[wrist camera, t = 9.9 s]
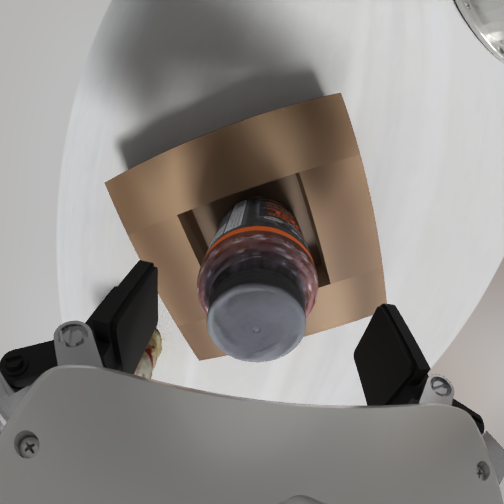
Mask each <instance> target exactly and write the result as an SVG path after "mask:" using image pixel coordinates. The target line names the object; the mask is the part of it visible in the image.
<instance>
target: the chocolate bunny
mask: <svg viewBox="0 0 504 504" xmlns="http://www.w3.org/2000/svg"><path fill="white" fill-rule="evenodd" d="M161 343H162V339H161V336H160V334H159V332H158V331H157V330H156V329H155V330H154V333H153V335H152V337H151V339H150V341H149V343H148V345H147V347H146V349H145V351H144V353H143V356H142V358H141V360H140V362H139V364H138V366H137V368H136V371H135V373H134V375H138V376H141V377H145V378H149V379H151V376H152V371H153V369H154V367H155V365H156V361H157V358H158V357H159V355H160V353H161V350H162V347H161V346H162V345H161Z"/></svg>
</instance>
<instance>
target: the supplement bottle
mask: <svg viewBox="0 0 504 504" xmlns="http://www.w3.org/2000/svg"><path fill="white" fill-rule="evenodd" d="M197 294H198V298H199V302H200V305H201V307H202V309H203V311H204V312H205V314H206V315H207V320H206V323H207V330H208V333H209V335H210V337H211V340H212V341H213V342H214V344H215V345H216V346H217V347H218V348H219V349H220V350H221V351H223V352H224V353H225V354H227V355H229V356H232V357H234V358H235V359H239V360H242V361H249V362H264V361H270V360H275V359H278V358H280V357H282V356H285V355H286V354H288V353H289V352H291V351H292V350H293V349H294V348H295V347H296V346H297V345H298V344H299V343H300V341H301V339H302V338H303V336H304V334H305V330H306V318H307V317H308V316H309V315H310V313H311V311H312V310H313V307H314V305H315V303H316V299H317V296H318V277H317V271H316V268H315V265H314V262H313V259H312V257H311V254H310V252H309V249H308V246H307V244H306V241H305V239H304V236H303V234H302V231H301V229H300V226H299V224H298V221H297V219H296V217H295V216H294V215H293V213H292V212H291V210H290V209H289V208H288V207H287V206H286V205H284V204H283V203H281V202H280V201H278V200H276V199H273V198H270V197H265V196H252V197H248V198H245V199H243V200H240V201H239V202H237V203H235V204H234V205H233V206H232V207H230V208H229V210H228V211H227V212H226V214H225V215H224V216H223V219H222V220H221V222H220V224H219V226H218V229H217V231H216V233H215V235H214V238H213V240H212V242H211V244H210V246H209V249H208V251H207V253H206V255H205V257H204V260H203V262H202V265H201V267H200V270H199V274H198V278H197Z"/></svg>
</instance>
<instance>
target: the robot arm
mask: <svg viewBox="0 0 504 504" xmlns="http://www.w3.org/2000/svg"><path fill="white" fill-rule="evenodd" d="M455 1H456V4H457V6H458V8H459V10H460V11H461V13H462V15H463V17H464V18H465V20H466V21H467V23H468V24H469V26H470V27H471V29H472V30H473V32H474V33H475V34H476V36H477V37H478V38H479V40H480V41H481V42H482V43H483V44H484V45H485V46H486V48H487V49H488V50H489V51H490V52H491V53H492V54H493V55H494V56H496V57H497V58H498V59H499V60H501V61H502V62H504V0H455ZM157 323H158V268H157V267H154V263H152V262H147V261H143V260H140V261H139V262H138V263H137V264H136V265H135V266H134V267H133V269H132V270H131V271H130V272H129V273H128V275H127V276H126V277H125V278H124V279H123V281H122V282H121V283H120V284H119V286H118V287H117V286H116V287H114V288H113V289H112V290H111V291H110V292H109V294H108V295H107V296H106V297H105V299H104V300H103V301H102V302H101V304H100V305H99V306H98V307H97V309H96V310H95V311H94V312H93V314H92V315H91V316H90V318H89V319H88V320H87V322H86V323H83V322H80V321H69V322H66V323H63V324H62V325H60V326H59V327H58V328H57V329H56V331H55V333H54V340H52V341H48V342H44V343H40V344H36V345H32V346H28V347H24V348H20V349H15V350H12V351H9V352H8V353H6V354H5V355H4V356H3V358H2V359H1V362H0V504H503V500H502V495H501V491H500V487H499V484H500V482H501V481H502V479H503V477H504V449H503V448H502V447H501V446H500V444H499V443H498V442H497V441H496V440H495V439H494V438H493V437H492V436H491V435H490V434H489V433H488V432H487V431H486V432H485V433H484V423H483V420H482V418H481V416H480V415H478V414H476V413H475V412H474V411H472V410H470V409H469V408H467V407H466V406H464V405H463V404H461V403H459V402H458V401H456V400H455V399H453V396H454V388H453V386H452V384H451V382H450V381H449V380H448V379H447V378H445V377H444V376H442V375H440V374H432V375H430V376H428V374H427V373H428V372H429V370H430V367H429V365H428V363H427V361H426V359H425V357H424V355H423V354H422V352H421V350H420V348H419V346H418V344H417V343H416V341H415V339H414V337H413V335H412V334H411V332H410V330H409V328H408V327H407V325H406V323H405V321H404V320H403V318H402V316H401V314H400V313H399V311H398V309H397V308H396V306H395V305H391V304H384V303H383V304H382V305H380V306H378V307H377V308H376V310H375V312H374V314H373V316H372V319H371V321H370V323H369V325H368V326H367V328H366V330H365V332H364V334H363V336H362V338H361V340H360V342H359V344H358V346H357V347H356V349H355V351H354V360H355V363H356V367H357V370H358V373H359V377H360V380H361V384H362V387H363V391H364V394H365V398H366V402H367V405H368V406H335V405H311V404H296V403H284V402H274V401H265V400H257V399H249V398H242V397H235V396H229V395H223V394H217V393H212V392H206V391H201V390H196V389H192V388H187V387H182V386H178V385H174V384H169V383H165V382H161V381H157V380H153V379H149V378H145V377H141V376H138V375H134V373H135V371H136V368H137V366H138V364H139V362H140V360H141V358H142V356H143V353H144V351H145V349H146V347H147V345H148V343H149V341H150V339H151V337H152V335H153V333H154V330H155V328H156V326H157Z"/></svg>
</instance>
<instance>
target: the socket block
mask: <svg viewBox="0 0 504 504" xmlns="http://www.w3.org/2000/svg"><path fill="white" fill-rule="evenodd" d="M105 185H106V187H107V190H108V192H109V194H110V197H111V199H112V201H113V204H114V206H115V208H116V210H117V213H118V215H119V217H120V219H121V221H122V223H123V226H124V228H125V230H126V232H127V234H128V236H129V238H130V240H131V242H132V244H133V246H134V248H135V250H136V252H137V254H138V256H139V258H140V260H143V261H147V262H152V263H154V267H157V268H158V294H159V296H160V297H161V299H162V301H163V303H164V304H165V306H166V308H167V309H168V311H169V313H170V315H171V316H172V318H173V320H174V321H175V323H176V325H177V326H178V328H179V330H180V331H181V333H182V334H183V336H184V338H185V339H186V341H187V342H188V344H189V346H190V347H191V349H192V350H193V352H194V353H195V355H196V356H197V358H198V359H199V361H200V360H205V359H210V358H216V357H221V356H226V355H227V354H225V353H224V352H223V351H221V350H220V349H219V348H218V347H217V346H216V345H215V344H214V342H213V341H212V340H211V337H210V335H209V333H208V330H207V323H206V320H207V315H206V314H205V312H204V311H203V309H202V307H201V305H200V302H199V298H198V294H197V278H198V274H199V270H200V267H201V265H202V262H203V260H204V257H205V255H206V253H207V251H208V249H209V246H210V244H211V242H212V240H213V238H214V235H215V233H216V231H217V229H218V226H219V224H220V222H221V220H222V219H223V216H224V215H225V214H226V212H227V211H228V210H229V208H230V207H232V206H233V205H234V204H235V203H237V202H239V201H240V200H243V199H245V198H248V197H252V196H265V197H270V198H273V199H276V200H278V201H280V202H281V203H283V204H284V205H286V206H287V207H288V208H289V209H290V210H291V212H292V213H293V215H294V216H295V217H296V219H297V221H298V224H299V226H300V229H301V231H302V234H303V236H304V239H305V241H306V244H307V246H308V249H309V252H310V254H311V257H312V259H313V262H314V265H315V268H316V271H317V277H318V296H317V299H316V303H315V305H314V307H313V310H312V311H311V313H310V315H309V316H308V317H307V318H306V330H305V334H304V336H308V335H311V334H315V333H318V332H321V331H325V330H328V329H331V328H335V327H338V326H341V325H344V324H347V323H350V322H353V321H356V320H359V319H362V318H365V317H368V316H371V315H373V314H374V312H375V310H376V308H377V307H378V306H380V305H382V304H383V303H384V304H387V302H386V291H385V282H384V273H383V266H382V258H381V252H380V245H379V239H378V233H377V227H376V222H375V216H374V211H373V206H372V202H371V197H370V192H369V188H368V184H367V179H366V175H365V171H364V167H363V163H362V159H361V156H360V152H359V148H358V145H357V141H356V138H355V135H354V131H353V128H352V125H351V121H350V118H349V115H348V112H347V109H346V106H345V103H344V100H343V98H342V95H341V93H337V94H333V95H328V96H324V97H320V98H316V99H312V100H308V101H304V102H301V103H297V104H293V105H290V106H286V107H283V108H279V109H276V110H273V111H270V112H266V113H263V114H260V115H257V116H254V117H251V118H248V119H245V120H243V121H240V122H237V123H234V124H231V125H229V126H226V127H223V128H221V129H218V130H215V131H213V132H210V133H208V134H205V135H203V136H200V137H198V138H195V139H193V140H191V141H188V142H186V143H184V144H181V145H179V146H177V147H175V148H172V149H170V150H168V151H166V152H164V153H162V154H159V155H157V156H155V157H153V158H151V159H149V160H147V161H145V162H143V163H141V164H139V165H137V166H135V167H133V168H131V169H129V170H127V171H125V172H123V173H122V174H120V175H118V176H116V177H114V178H112V179H111V180H109V181H107V182H105ZM304 336H303V337H304Z"/></svg>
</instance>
